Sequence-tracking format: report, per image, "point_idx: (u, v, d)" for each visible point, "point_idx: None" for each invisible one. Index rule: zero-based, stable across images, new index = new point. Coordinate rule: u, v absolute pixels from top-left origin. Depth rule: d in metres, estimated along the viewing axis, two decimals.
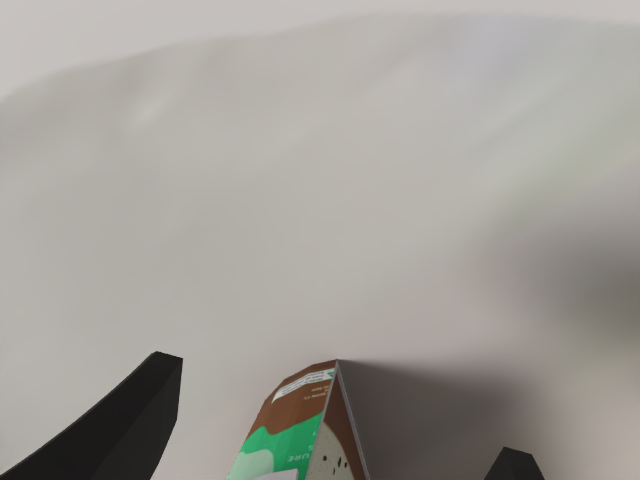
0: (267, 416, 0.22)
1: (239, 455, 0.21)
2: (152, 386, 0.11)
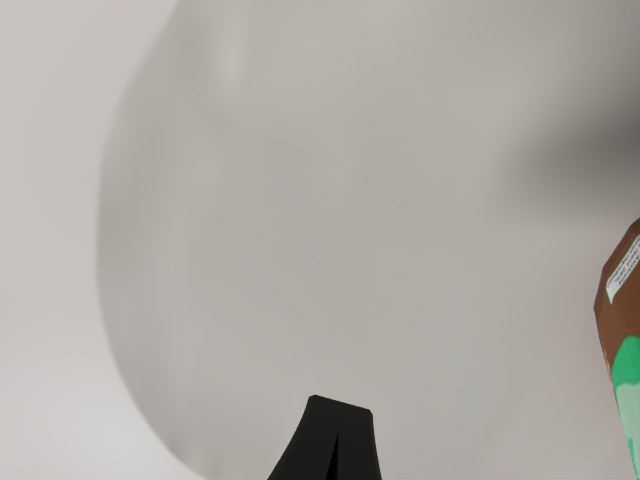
0: (622, 321, 0.15)
1: (622, 391, 0.14)
2: (326, 434, 0.11)
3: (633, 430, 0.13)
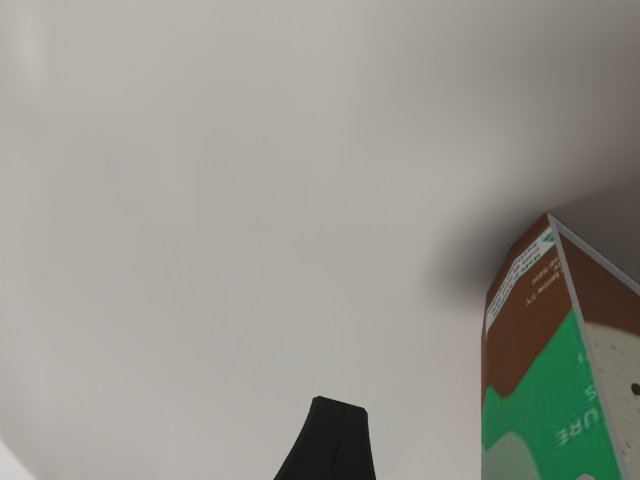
0: (488, 365, 0.12)
1: (481, 452, 0.12)
2: (331, 435, 0.11)
3: None
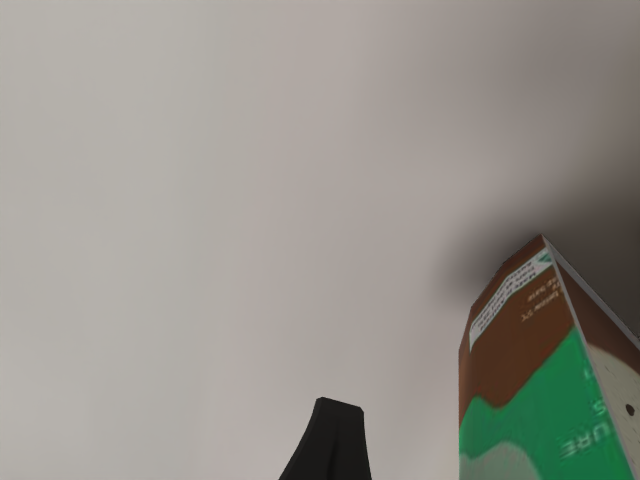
0: (474, 376, 0.12)
1: (461, 461, 0.12)
2: (335, 436, 0.11)
3: None
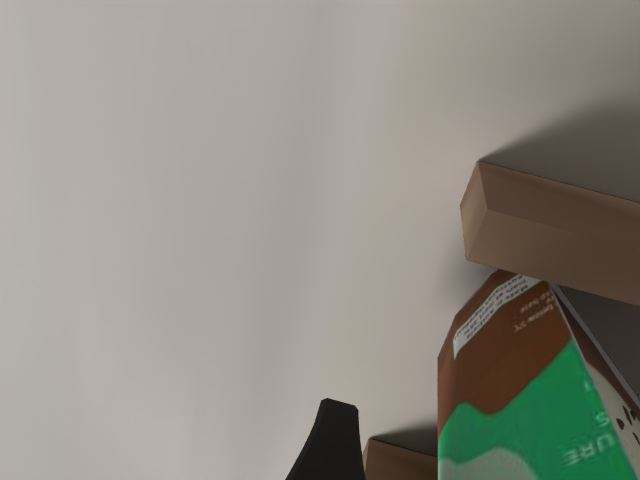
0: (461, 383, 0.12)
1: (443, 466, 0.12)
2: (340, 438, 0.11)
3: None
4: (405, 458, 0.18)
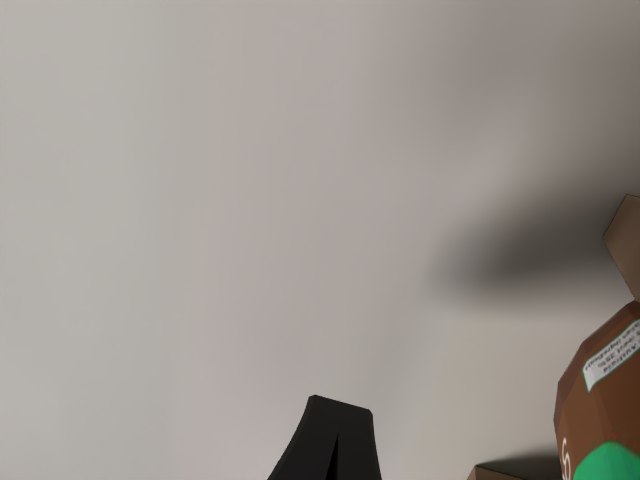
0: (604, 420, 0.12)
1: None
2: (326, 434, 0.11)
3: None
4: None
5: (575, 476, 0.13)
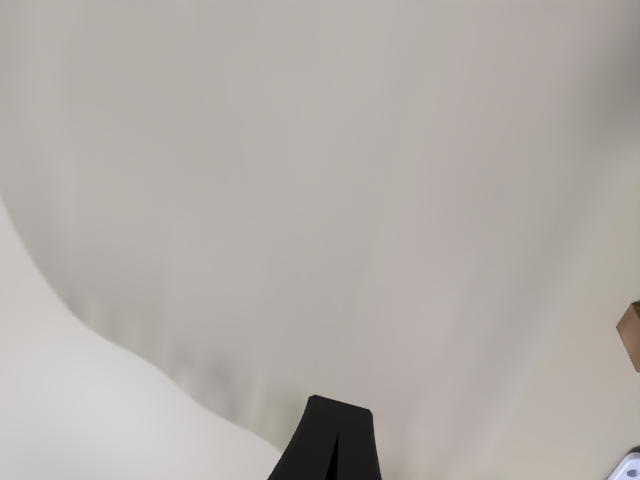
0: None
1: None
2: (326, 434, 0.11)
3: None
4: None
5: None
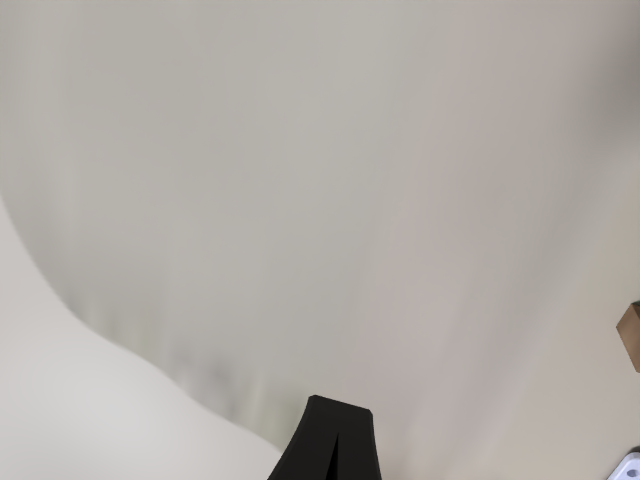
0: None
1: None
2: (326, 434, 0.11)
3: None
4: None
5: None
